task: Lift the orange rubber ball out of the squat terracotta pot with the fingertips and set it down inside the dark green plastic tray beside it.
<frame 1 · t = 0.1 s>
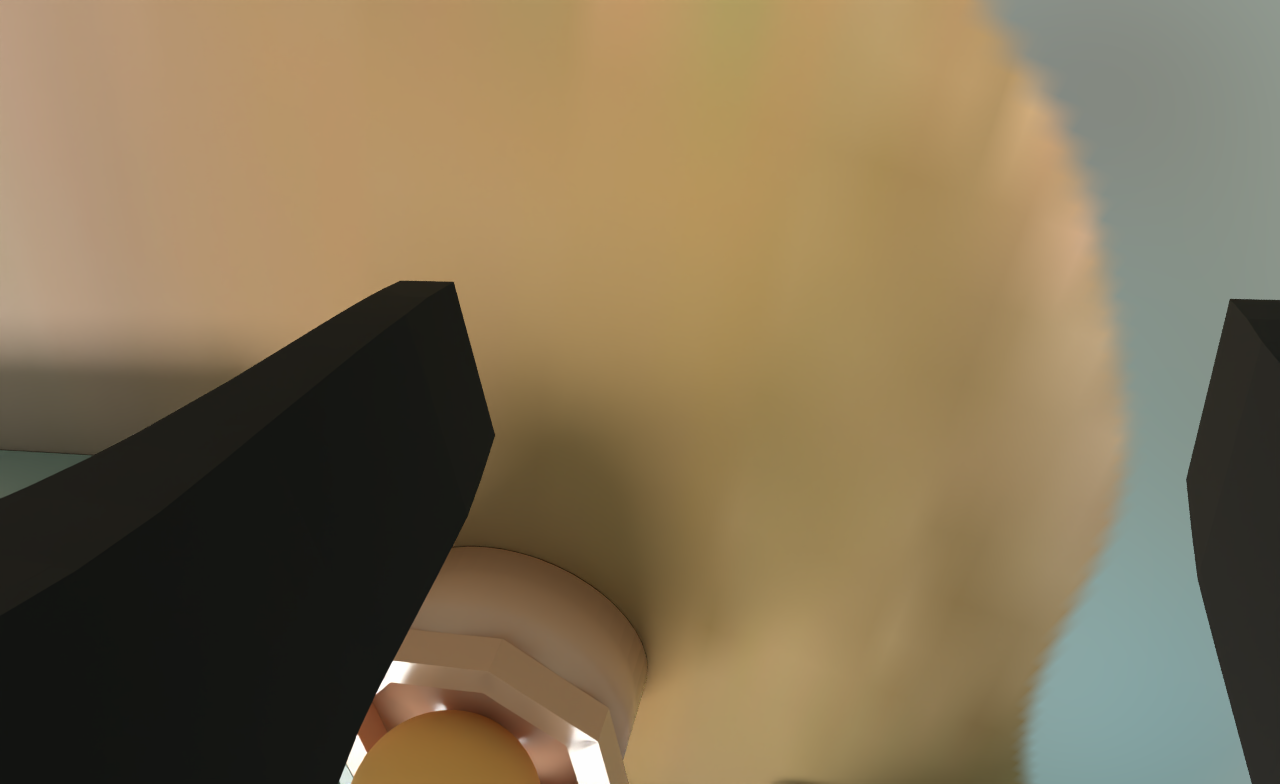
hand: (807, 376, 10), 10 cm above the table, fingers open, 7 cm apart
pot: (515, 642, 31), on the table
tray: (214, 630, 35), on the table
ball: (479, 728, 29), point 3 cm above the table, touching pot
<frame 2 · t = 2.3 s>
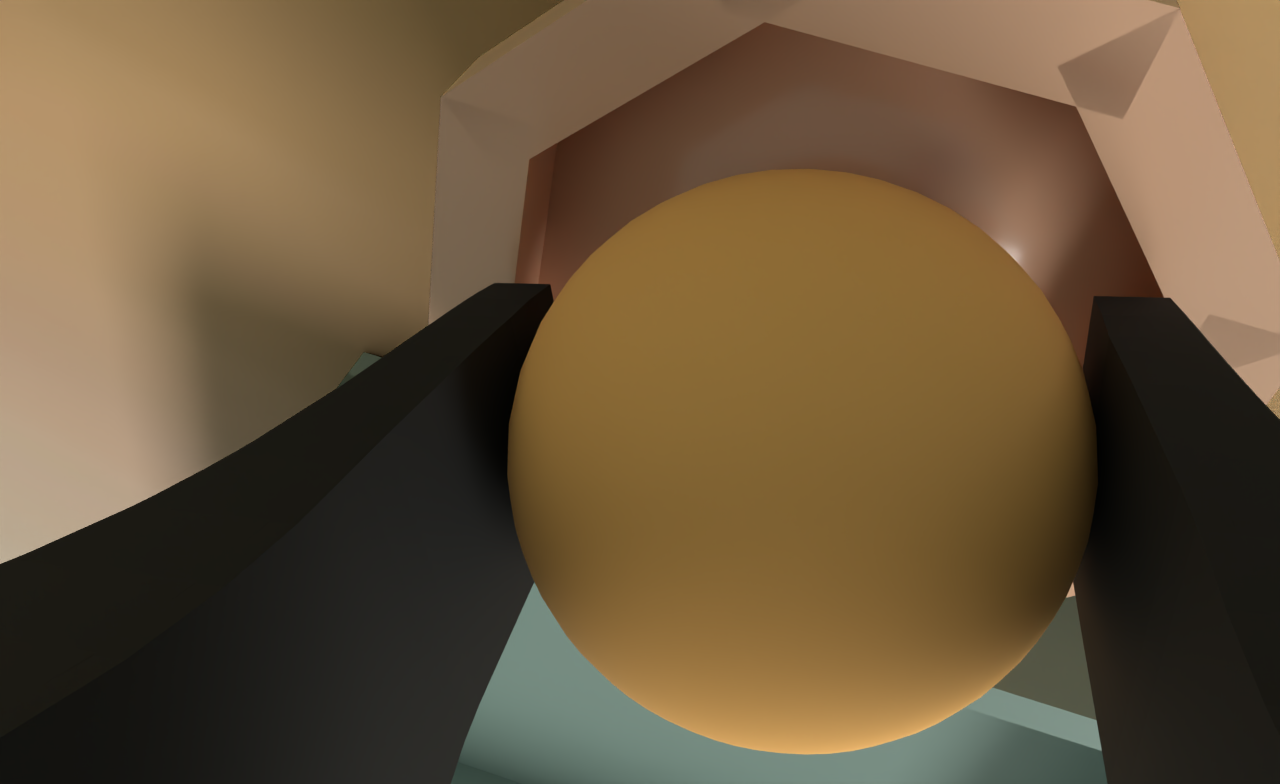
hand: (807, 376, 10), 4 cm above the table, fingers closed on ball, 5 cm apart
pot: (848, 175, 14), on the table
tray: (728, 683, 21), on the table
ball: (822, 303, 11), point 3 cm above the table, touching gripper, pot
when the fingers open (3 cm above the table, at t = 5.6 s): ball drops 1 cm, resting on tray.
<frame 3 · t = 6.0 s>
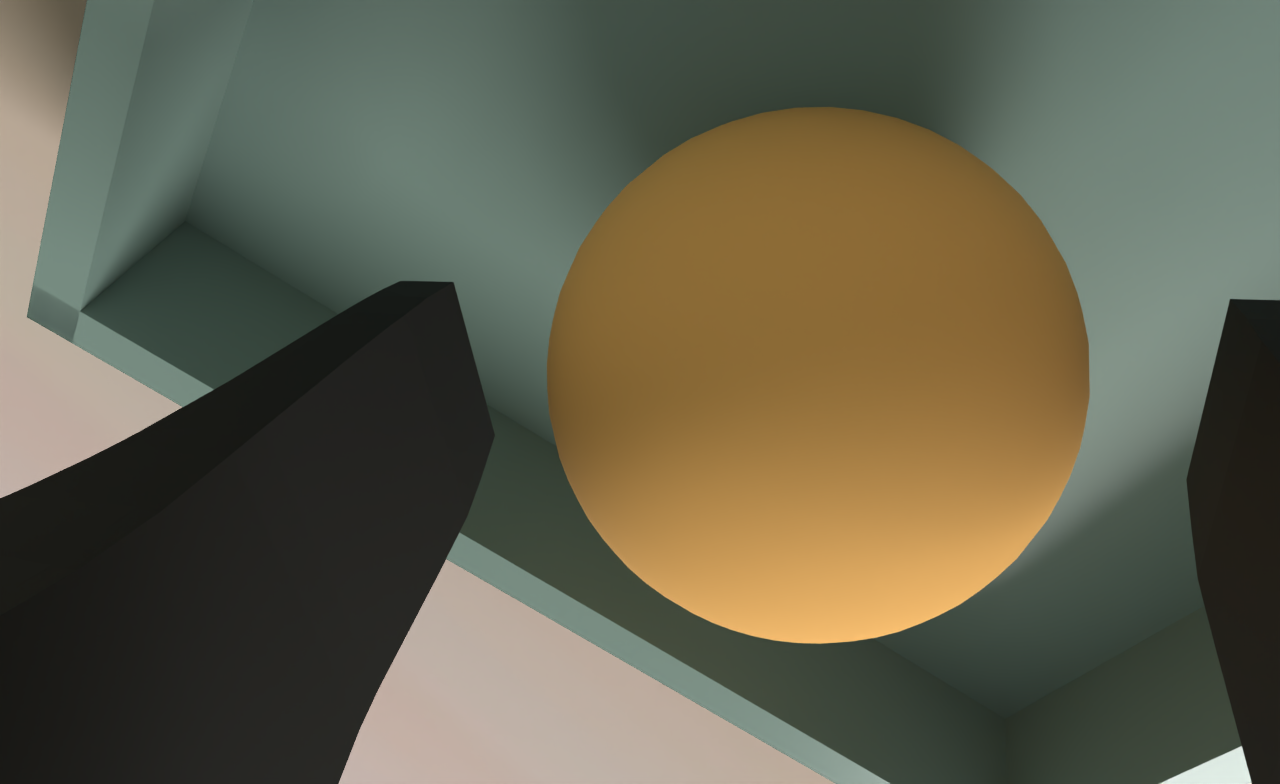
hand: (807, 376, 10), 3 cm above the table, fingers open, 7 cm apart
tray: (838, 225, 13), on the table
ball: (834, 245, 12), point 1 cm above the table, touching tray
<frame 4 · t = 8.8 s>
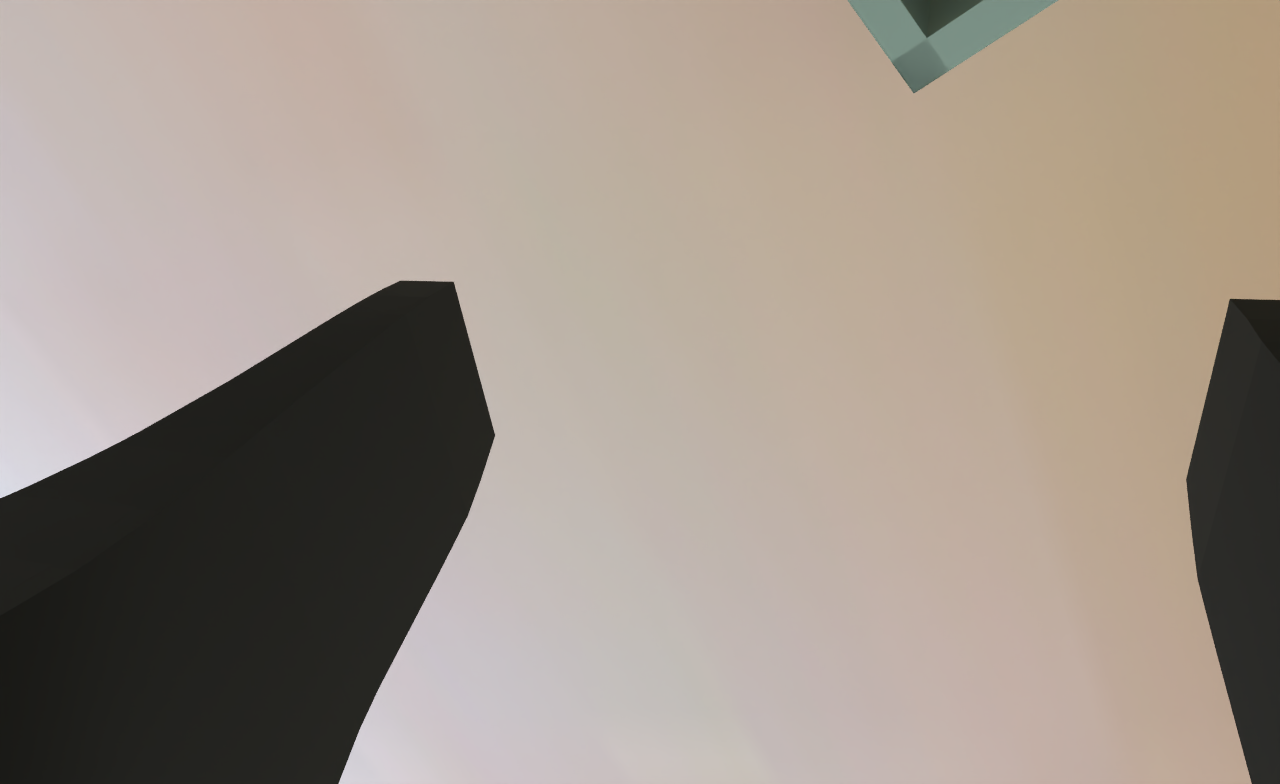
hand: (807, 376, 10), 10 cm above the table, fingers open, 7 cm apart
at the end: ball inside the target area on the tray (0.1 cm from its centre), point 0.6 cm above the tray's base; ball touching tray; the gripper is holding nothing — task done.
